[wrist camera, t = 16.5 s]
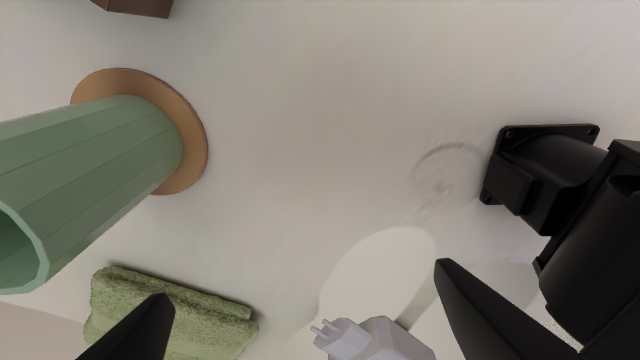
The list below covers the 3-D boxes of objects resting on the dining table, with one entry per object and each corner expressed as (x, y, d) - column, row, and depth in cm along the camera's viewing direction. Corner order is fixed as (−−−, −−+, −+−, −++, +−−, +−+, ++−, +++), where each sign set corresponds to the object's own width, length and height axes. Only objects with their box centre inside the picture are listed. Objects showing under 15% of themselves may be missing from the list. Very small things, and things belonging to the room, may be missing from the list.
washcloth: (230, 361, 35) (222, 389, 33) (95, 319, 32) (72, 347, 29) (267, 309, 30) (260, 338, 27) (107, 251, 26) (80, 277, 23)
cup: (131, 73, 17) (-118, 116, 8) (202, 154, 20) (82, 260, 10) (72, 124, 19) (-187, 210, 10) (144, 192, 22) (-3, 311, 12)
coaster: (187, 64, 17) (184, 65, 17) (220, 191, 22) (218, 194, 22) (48, 70, 18) (41, 71, 18) (109, 193, 23) (105, 196, 22)
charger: (349, 283, 27) (431, 345, 32) (291, 320, 30) (373, 370, 35) (352, 327, 23) (446, 391, 28) (284, 364, 26) (379, 415, 31)
